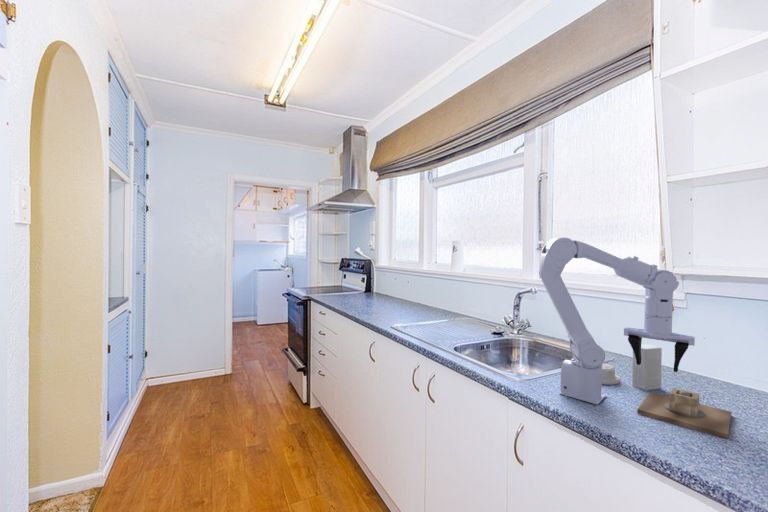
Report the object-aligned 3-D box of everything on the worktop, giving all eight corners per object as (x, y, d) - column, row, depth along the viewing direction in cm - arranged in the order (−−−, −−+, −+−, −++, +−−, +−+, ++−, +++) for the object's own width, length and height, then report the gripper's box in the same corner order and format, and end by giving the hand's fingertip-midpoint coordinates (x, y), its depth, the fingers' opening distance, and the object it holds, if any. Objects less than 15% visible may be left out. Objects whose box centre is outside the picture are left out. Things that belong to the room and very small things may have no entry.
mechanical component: (597, 372, 117) (574, 375, 114) (598, 358, 117) (574, 361, 113) (627, 383, 107) (602, 387, 104) (627, 368, 107) (603, 372, 104)
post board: (637, 413, 88) (637, 391, 87) (649, 395, 98) (650, 375, 98) (727, 438, 76) (728, 413, 76) (731, 415, 86) (731, 393, 86)
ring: (669, 409, 87) (669, 393, 87) (672, 403, 90) (673, 387, 90) (696, 416, 83) (696, 399, 83) (698, 409, 87) (699, 393, 87)
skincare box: (646, 383, 107) (648, 343, 106) (661, 388, 103) (662, 347, 102) (631, 385, 105) (632, 345, 105) (645, 391, 101) (646, 349, 101)
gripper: (621, 313, 95) (620, 364, 95) (694, 322, 85) (692, 378, 85) (627, 310, 100) (625, 358, 100) (695, 317, 90) (694, 371, 90)
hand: (656, 367), depth 93 cm, fingers open, 7 cm apart
